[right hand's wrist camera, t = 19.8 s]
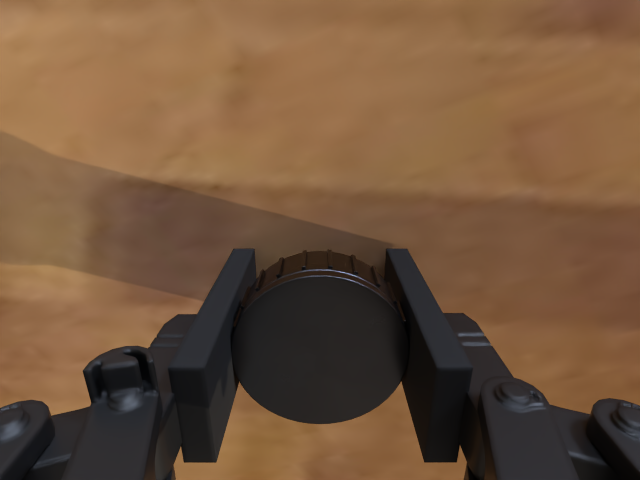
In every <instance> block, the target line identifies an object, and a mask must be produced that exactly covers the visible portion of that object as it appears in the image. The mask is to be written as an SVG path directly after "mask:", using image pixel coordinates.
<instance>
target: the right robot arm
mask: <svg viewBox="0 0 640 480" xmlns="http://www.w3.org/2000/svg"><path fill="white" fill-rule="evenodd" d="M255 280H256V266H255V251H254V249H233V251H232V253H231V255H230V257H229V258H228V260H227V262H226V264H225V266H224V267H223V269H222V271H221V273H220V274H219V276H218V278H217V280H216V282H215V283H214V285H213V287H212V289H211V291H210V292H209V294H208V296H207V298H206V300H205V301H204V303H203V305H202V307H201V308H200V310H199V312H198V314H178V315H176V316H175V317H174V318H172V319H171V320H169V321H168V322H167V323H165V324H164V326H163V327H162V328H161V330H160V331H159V333H158V334H157V338H155V339H154V340H153V342H152V343H151V346H150V347H149V348H148V349H147V348H144V347H140V346H124V347H120V348H116V349H112V350H110V351H108V352H105V353H103V354H101V355H99V356H98V357H96V358H95V359H93V360H92V361H91V362H89V363H88V365H87V366H86V367H85V369H84V370H83V374H84V377H85V381H86V385H87V388H88V392H89V396H90V399H91V406H89V407H86V408H83V409H79V410H75V411H70V412H66V413H61V414H57V415H53V416H51V414H50V411H49V408H48V406H47V405H46V404H44V403H43V402H42V401H36V400H27V401H20V402H16V403H13V404H10V405H7V406H4V407H2V408H0V480H176V478H175V471H174V465H173V464H174V462H175V459H176V457H177V454H178V452H179V449H180V447H181V448H182V454H183V460H184V462H217V458H218V454H219V451H220V447H221V444H222V440H223V437H224V433H225V430H226V426H227V423H228V419H229V416H230V412H231V409H232V405H233V402H234V398H235V394H236V391H237V387H238V384H239V379H238V377H237V375H236V373H235V370H234V367H233V363H232V355H231V341H232V335H233V332H234V329H233V325H234V322H235V320H236V317H237V314H238V312H239V309H240V306H241V303H242V300H243V298H244V295H245V292H246V290H247V287H248V286H249V287H251V286H252V285H253V283H254V282H255ZM384 280H385V281H386V283H387V282H390V284H391V287H392V289H393V292H394V295H395V297H396V300H399V303H400V305H401V308H402V311H403V313H404V316H405V319H406V321H407V324H405V327H406V330H407V334H408V337H409V346H410V348H409V360H408V365H407V368H406V371H405V374H404V376H403V378H402V380H401V381H402V385H403V388H404V392H405V396H406V399H407V403H408V406H409V410H410V413H411V417H412V420H413V424H414V427H415V431H416V434H417V438H418V441H419V445H420V449H421V452H422V456H423V459H424V462H457V458H458V452H459V446H461V448H462V451H463V453H464V456H465V458H466V461H467V465H466V471H465V476H464V480H640V406H639V405H636V404H633V403H630V402H627V401H624V400H618V399H611V398H609V399H602V400H599V401H597V402H596V403H595V404H594V405H593V407H592V410H591V414H586V413H582V412H577V411H573V410H569V409H564V408H560V407H557V406H553V405H550V404H549V403H548V401H547V400H546V398H545V397H544V395H543V394H542V393H541V392H540V391H539V390H537V389H536V388H535V387H534V386H532V385H530V384H528V383H526V382H524V381H522V380H520V379H517V378H514V377H513V376H512V374H511V373H510V371H509V370H508V368H507V367H506V365H505V364H504V363H503V361H502V360H501V358H500V357H499V355H498V354H497V352H496V351H495V349H494V348H493V346H491V345H490V344H491V343H490V342H489V341H488V339H487V338H486V336H484V333H483V332H482V330H481V329H480V327H479V326H478V324H477V323H476V322H475V321H473V320H472V319H470V318H469V317H468V316H466V315H465V314H463V313H443V312H442V311H441V309H440V307H439V305H438V304H437V302H436V300H435V298H434V296H433V295H432V293H431V291H430V289H429V287H428V286H427V284H426V282H425V280H424V278H423V277H422V275H421V273H420V271H419V269H418V268H417V266H416V264H415V262H414V261H413V259H412V257H411V255H410V253H409V252H408V250H407V249H386V263H385V278H384Z"/></svg>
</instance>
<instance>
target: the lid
mask: <svg viewBox="0 0 640 480" xmlns="http://www.w3.org/2000/svg"><path fill="white" fill-rule="evenodd" d="M405 324H407V321H406V319H405V316H404V313H403V311H402V308H401V305H400V303H399V300H396V297H395V295H394V292H393V289H392V287H391V284H390V282H387V283H386V281H385V280H384V279H383V278H382V277H381V276H380V275H379V274H378V273H377V271H376V268H375V267H374V266H372V267H370V266H368V265H367V264H365V263H364V262H362V261H360V260H357V259H356V258H355V256H354V255H351V257H350V256H347V255H344V254H340V253H335V252H331V250H329V249H328V251H327V252H325V251H316V252H307V250H304V251H303V253H300V254H297V255H293V256H290V257H287V258H285V259H284V258H283V257H281V258H280V259H279V262H277V263H275V264H274V265H272V266H270V267H269V268H268V269H267V270H265V271H264V270H262V271H261V272H260V275H259V277H258V278H257V279H256V280H255V282H254V283H253V285H252V286H251V287H249V286H248V287H247V290H246V292H245V295H244V298H243V300H242V303H241V306H240V309H239V312H238V314H237V317H236V320H235V322H234V325H233V329H234V332H233V335H232V341H231V355H232V363H233V367H234V370H235V373H236V375H237V377H238V379H239V381H240V383H241V385H242V386H243V388H244V389H245V391H246V392H247V393H248V394H249V395H250V396H251V397H252V398H253V399H254V400H255V401H256V402H257V403H259V404H260V405H261V406H263V407H264V408H266V409H267V410H269V411H271V412H273V413H275V414H277V415H279V416H281V417H284V418H286V419H290V420H293V421H297V422H303V423H311V424H330V423H337V422H343V421H347V420H351V419H354V418H356V417H359V416H362V415H364V414H366V413H368V412H370V411H371V410H373V409H374V408H376V407H378V406H379V405H380V404H382V403H383V402H384V401H385V400H386V399H387V398H388V397H389V396H390V395H391V394H392V393H393V392H394V391H395V389H396V388H397V387H398V385H399V384H400V382H401V380H402V378H403V376H404V374H405V371H406V368H407V365H408V360H409V348H410V346H409V337H408V334H407V330H406V327H405Z"/></svg>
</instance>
